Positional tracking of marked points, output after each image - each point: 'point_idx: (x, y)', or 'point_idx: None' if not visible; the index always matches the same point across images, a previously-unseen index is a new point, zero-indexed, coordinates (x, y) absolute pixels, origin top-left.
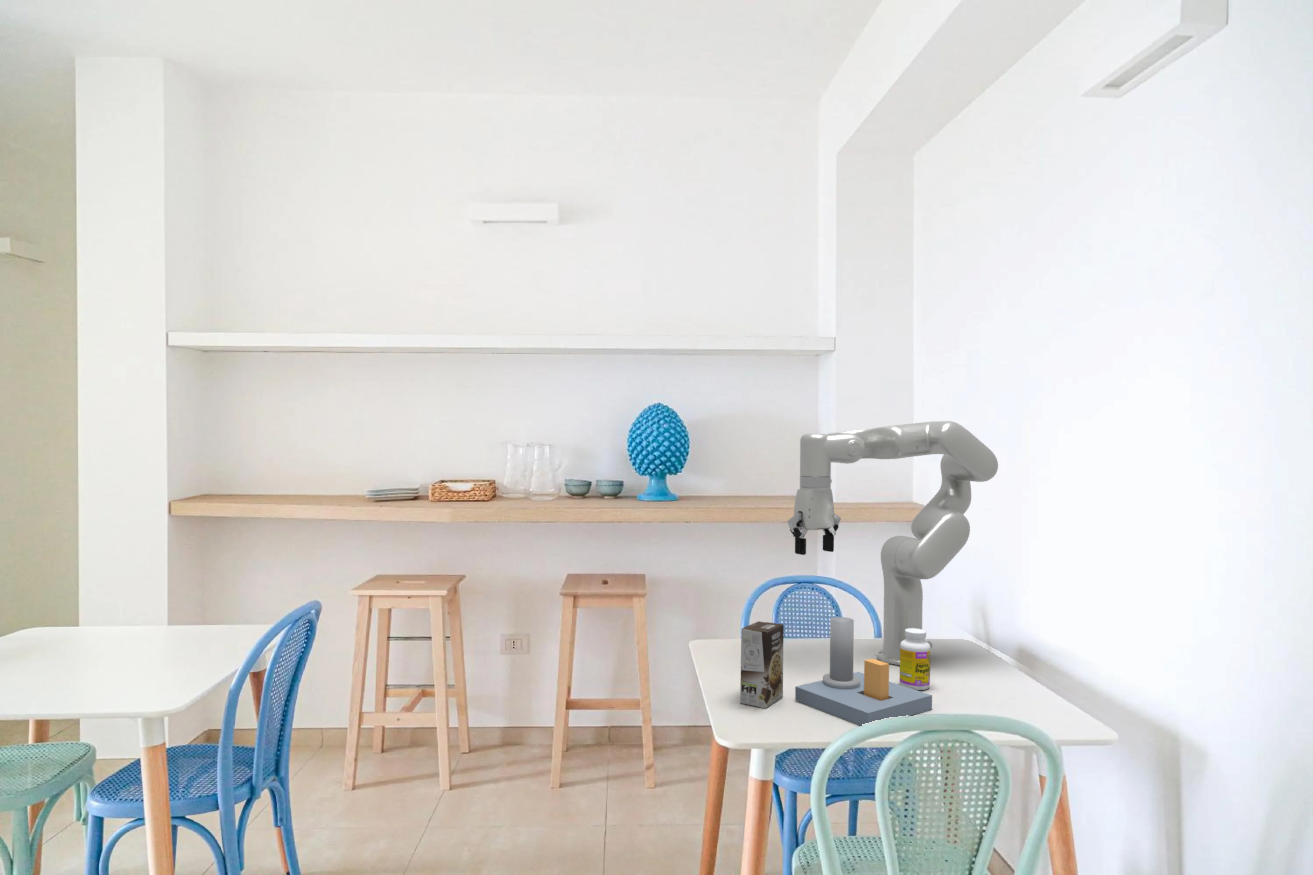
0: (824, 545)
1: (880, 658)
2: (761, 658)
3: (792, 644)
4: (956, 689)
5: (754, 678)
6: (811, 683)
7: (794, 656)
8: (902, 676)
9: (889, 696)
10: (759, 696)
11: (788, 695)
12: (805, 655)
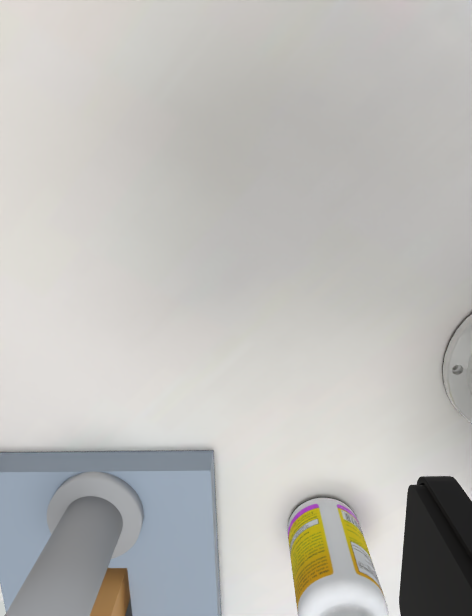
0: (434, 562)
1: (452, 342)
2: None
3: (377, 12)
4: (385, 580)
5: None
6: (30, 475)
7: (263, 152)
8: (290, 537)
9: (132, 614)
10: None
11: (4, 420)
12: (304, 163)
